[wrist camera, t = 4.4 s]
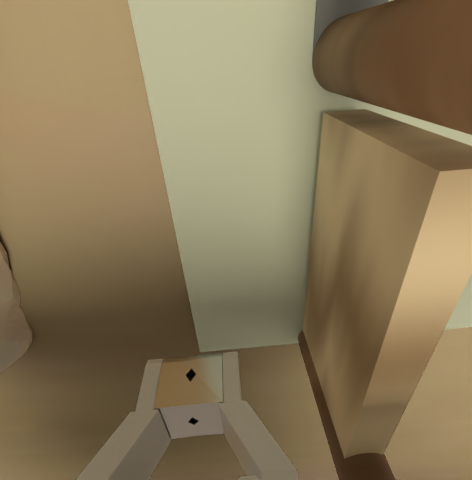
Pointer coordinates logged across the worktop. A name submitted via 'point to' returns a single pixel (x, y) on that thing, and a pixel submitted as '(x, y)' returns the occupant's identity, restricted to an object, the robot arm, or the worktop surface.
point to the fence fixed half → (403, 59)
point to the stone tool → (11, 318)
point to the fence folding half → (381, 275)
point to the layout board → (246, 154)
